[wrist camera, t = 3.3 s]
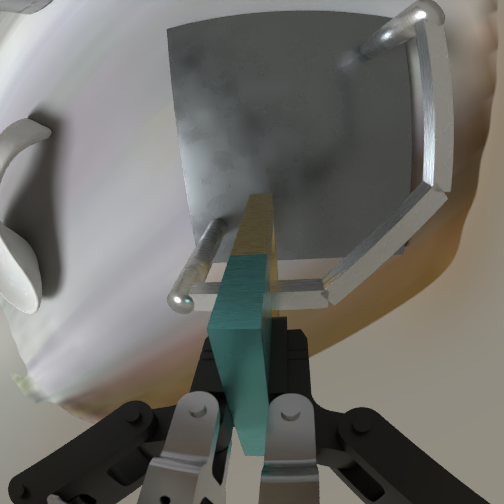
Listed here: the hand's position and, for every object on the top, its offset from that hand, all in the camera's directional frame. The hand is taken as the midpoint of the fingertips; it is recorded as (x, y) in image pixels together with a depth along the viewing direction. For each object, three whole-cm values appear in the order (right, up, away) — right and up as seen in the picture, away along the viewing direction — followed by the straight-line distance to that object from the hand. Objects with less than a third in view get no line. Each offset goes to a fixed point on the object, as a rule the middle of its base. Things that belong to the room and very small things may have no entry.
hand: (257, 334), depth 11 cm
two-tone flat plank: (+1, +3, +6) cm, 7 cm away
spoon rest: (-26, +7, +14) cm, 31 cm away
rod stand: (+4, +11, +8) cm, 14 cm away
